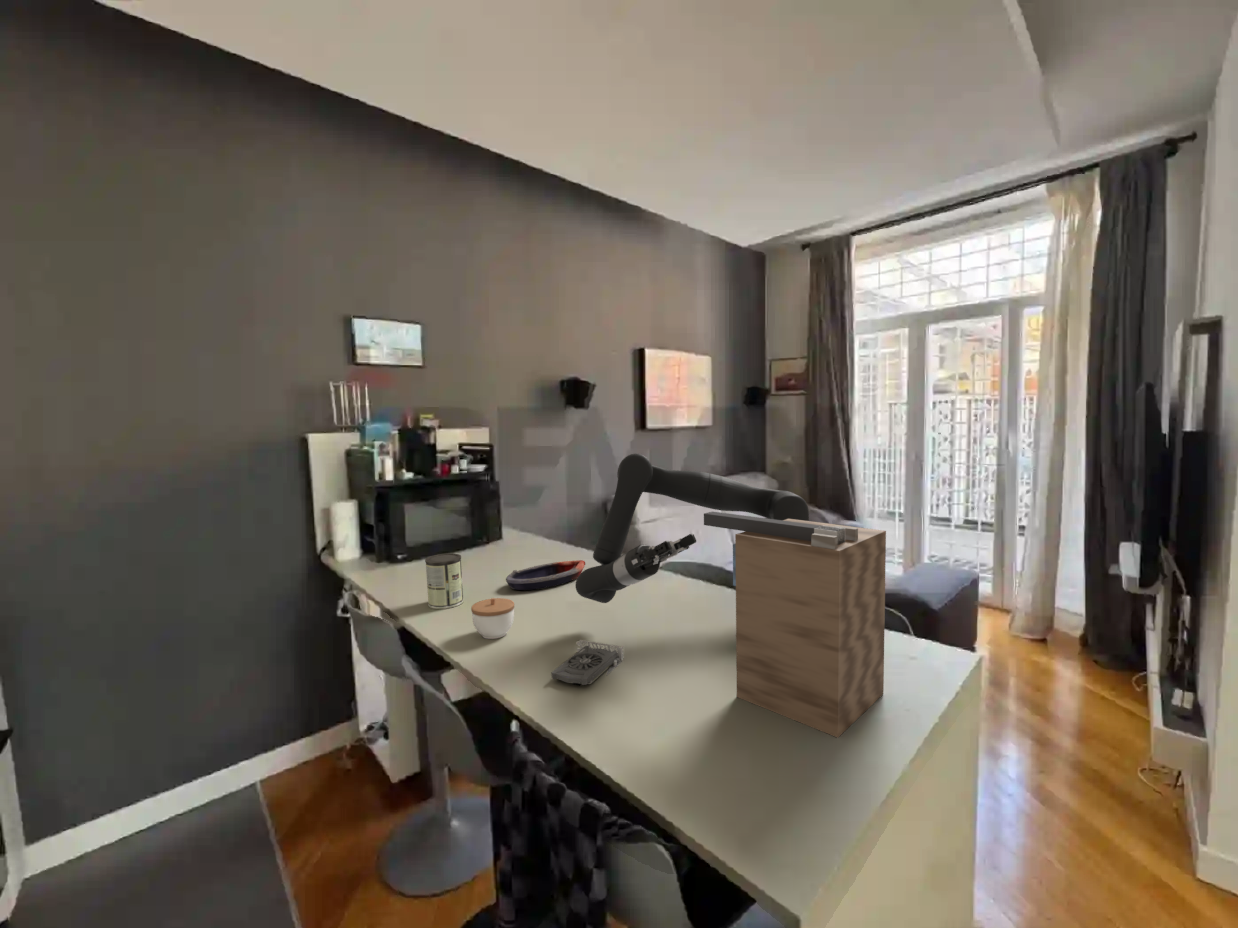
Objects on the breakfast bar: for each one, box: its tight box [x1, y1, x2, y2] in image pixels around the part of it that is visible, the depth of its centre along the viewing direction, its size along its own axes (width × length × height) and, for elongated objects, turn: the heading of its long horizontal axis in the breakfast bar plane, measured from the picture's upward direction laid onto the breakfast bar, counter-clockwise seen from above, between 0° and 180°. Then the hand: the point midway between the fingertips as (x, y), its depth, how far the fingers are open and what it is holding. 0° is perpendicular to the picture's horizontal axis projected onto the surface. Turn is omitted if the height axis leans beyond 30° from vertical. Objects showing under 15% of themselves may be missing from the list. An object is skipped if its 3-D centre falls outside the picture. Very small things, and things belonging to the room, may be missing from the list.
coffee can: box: [424, 552, 464, 610], centre depth 166 cm, size 10×10×14 cm
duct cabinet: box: [732, 519, 887, 739], centre depth 106 cm, size 20×21×34 cm
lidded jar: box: [470, 597, 515, 640], centre depth 142 cm, size 11×11×9 cm
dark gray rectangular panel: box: [703, 511, 845, 545], centre depth 105 cm, size 3×28×2 cm, turn 44°
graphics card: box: [550, 639, 625, 687], centre depth 121 cm, size 17×4×12 cm
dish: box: [505, 559, 586, 591], centre depth 186 cm, size 16×31×5 cm, turn 128°
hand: (682, 541), depth 121 cm, fingers open, 8 cm apart
